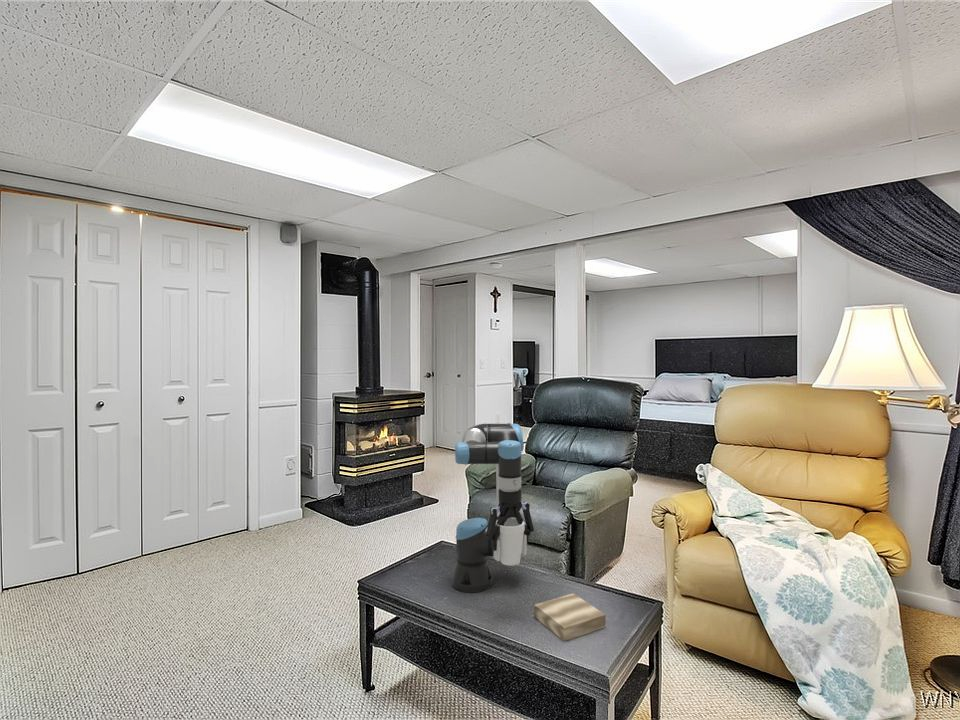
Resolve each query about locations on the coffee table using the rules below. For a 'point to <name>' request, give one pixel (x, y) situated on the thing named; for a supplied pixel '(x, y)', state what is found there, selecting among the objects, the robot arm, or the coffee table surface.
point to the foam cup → (511, 541)
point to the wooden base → (569, 616)
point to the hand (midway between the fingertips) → (510, 556)
